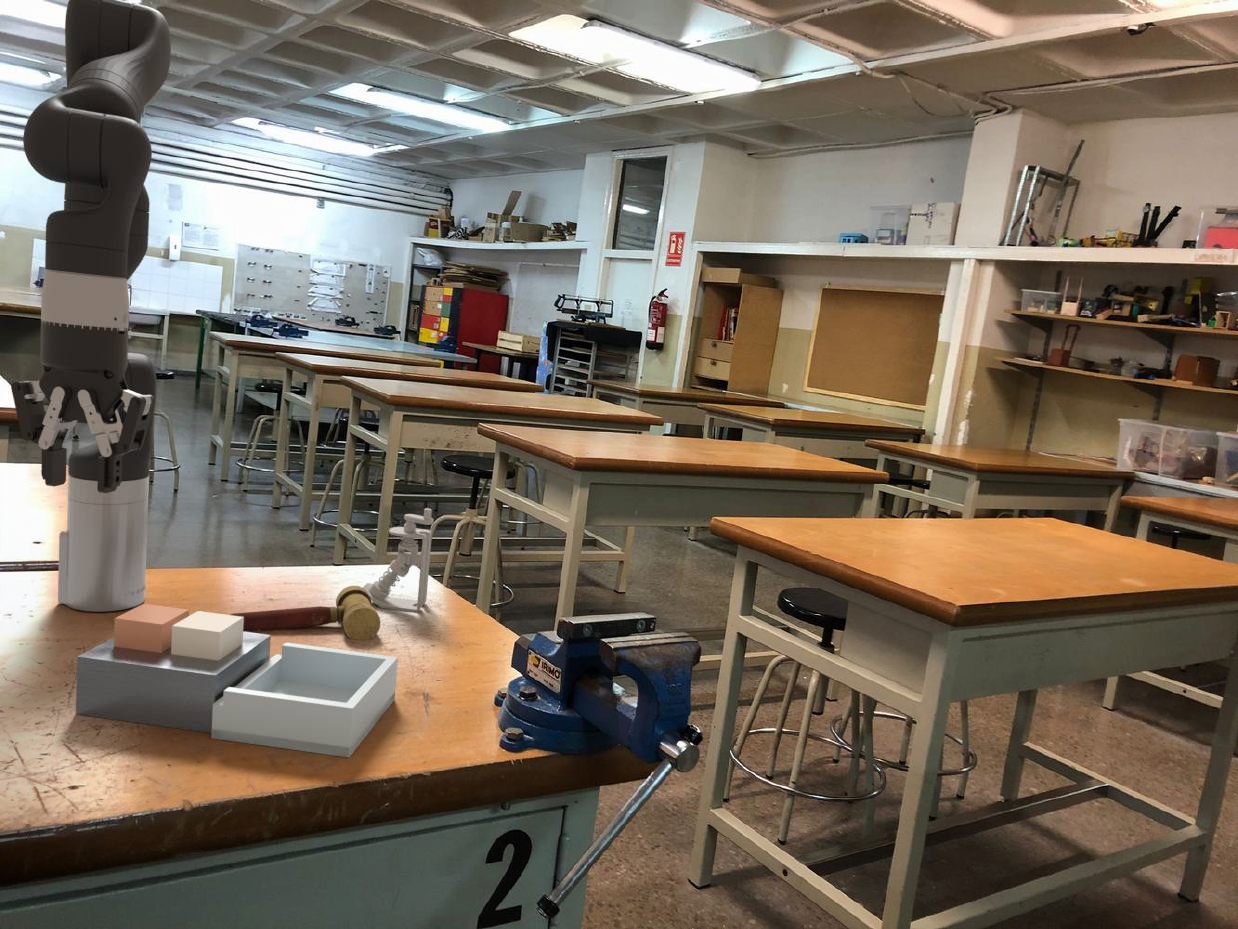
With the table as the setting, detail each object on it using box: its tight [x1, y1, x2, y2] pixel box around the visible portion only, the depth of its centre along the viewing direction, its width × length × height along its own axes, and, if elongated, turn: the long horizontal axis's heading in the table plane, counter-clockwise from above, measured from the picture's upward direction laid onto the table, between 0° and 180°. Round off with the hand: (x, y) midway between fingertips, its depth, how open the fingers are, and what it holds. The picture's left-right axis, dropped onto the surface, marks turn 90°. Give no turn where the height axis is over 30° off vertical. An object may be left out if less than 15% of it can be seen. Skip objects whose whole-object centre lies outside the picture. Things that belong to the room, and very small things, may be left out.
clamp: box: [362, 507, 434, 613], centre depth 133 cm, size 4×10×15 cm, turn 88°
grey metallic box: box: [75, 631, 272, 734], centre depth 96 cm, size 14×12×6 cm
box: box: [210, 642, 399, 758], centre depth 95 cm, size 14×14×5 cm
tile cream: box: [171, 610, 244, 661], centre depth 95 cm, size 5×5×3 cm
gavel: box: [229, 585, 381, 640], centre depth 120 cm, size 21×5×10 cm
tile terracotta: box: [113, 603, 190, 653], centre depth 95 cm, size 5×5×3 cm
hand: (81, 487), depth 93 cm, fingers open, 5 cm apart
